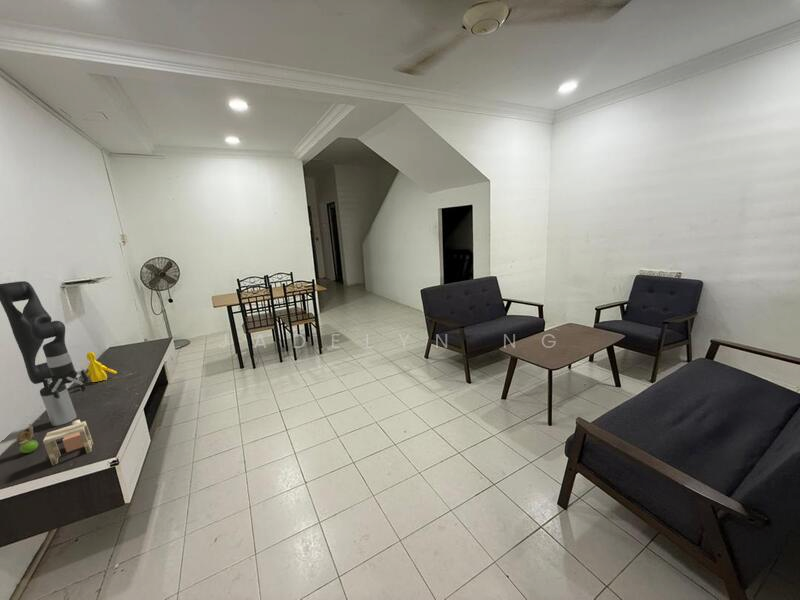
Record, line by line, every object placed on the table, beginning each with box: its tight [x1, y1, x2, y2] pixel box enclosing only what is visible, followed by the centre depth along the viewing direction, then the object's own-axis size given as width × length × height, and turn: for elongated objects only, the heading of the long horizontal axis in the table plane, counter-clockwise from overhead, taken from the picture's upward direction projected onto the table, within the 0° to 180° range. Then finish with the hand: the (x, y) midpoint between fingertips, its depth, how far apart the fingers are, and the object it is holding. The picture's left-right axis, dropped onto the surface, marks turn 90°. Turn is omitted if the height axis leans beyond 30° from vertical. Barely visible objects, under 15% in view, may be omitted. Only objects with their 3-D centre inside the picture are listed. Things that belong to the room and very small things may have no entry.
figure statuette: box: [82, 351, 118, 383], centre depth 211 cm, size 18×8×22 cm, turn 118°
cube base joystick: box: [62, 419, 85, 453], centre depth 147 cm, size 15×6×8 cm, turn 39°
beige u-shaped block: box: [42, 420, 94, 466], centre depth 137 cm, size 8×12×12 cm, turn 129°
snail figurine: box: [17, 423, 39, 454], centre depth 142 cm, size 5×6×12 cm
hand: (71, 394), depth 150 cm, fingers open, 8 cm apart
